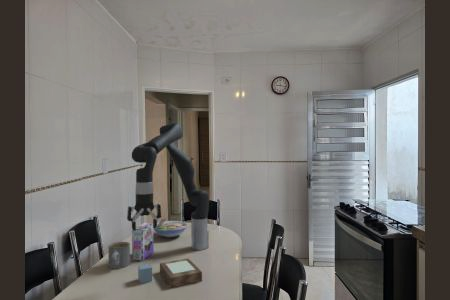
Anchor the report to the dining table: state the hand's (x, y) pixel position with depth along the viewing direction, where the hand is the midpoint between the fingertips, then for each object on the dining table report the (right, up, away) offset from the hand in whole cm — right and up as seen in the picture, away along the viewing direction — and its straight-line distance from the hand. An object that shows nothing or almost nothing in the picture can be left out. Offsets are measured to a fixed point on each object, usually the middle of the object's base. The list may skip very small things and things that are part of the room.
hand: (144, 229), depth 134 cm
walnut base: (+15, -22, +4) cm, 27 cm away
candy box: (-8, -22, +29) cm, 38 cm away
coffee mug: (-17, -23, +16) cm, 33 cm away
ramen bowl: (-1, -22, +66) cm, 70 cm away
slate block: (0, -23, 0) cm, 23 cm away
